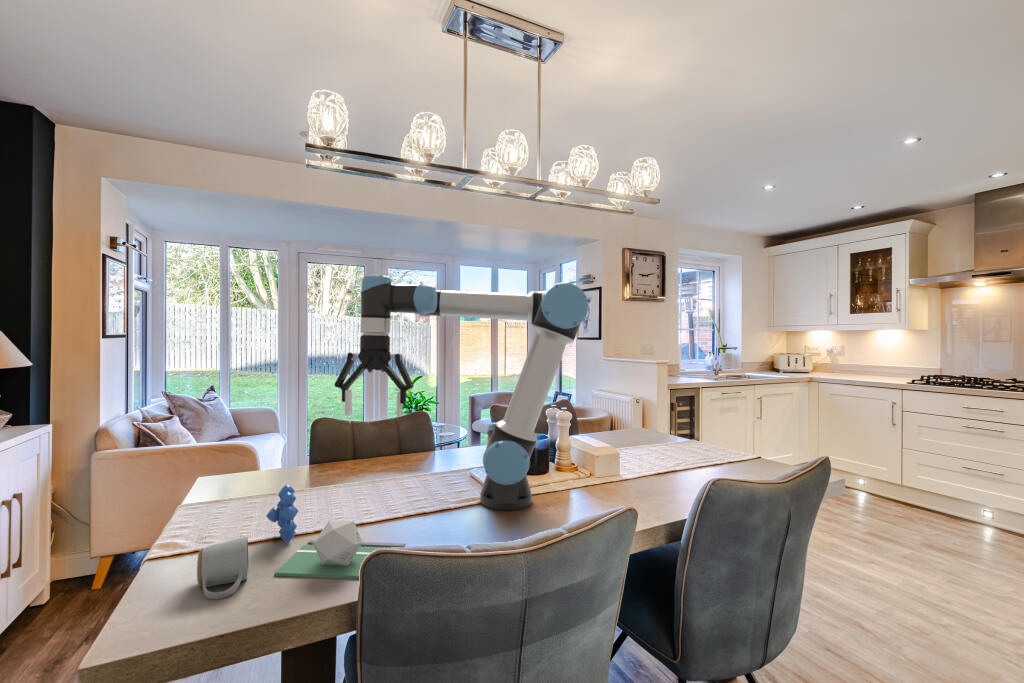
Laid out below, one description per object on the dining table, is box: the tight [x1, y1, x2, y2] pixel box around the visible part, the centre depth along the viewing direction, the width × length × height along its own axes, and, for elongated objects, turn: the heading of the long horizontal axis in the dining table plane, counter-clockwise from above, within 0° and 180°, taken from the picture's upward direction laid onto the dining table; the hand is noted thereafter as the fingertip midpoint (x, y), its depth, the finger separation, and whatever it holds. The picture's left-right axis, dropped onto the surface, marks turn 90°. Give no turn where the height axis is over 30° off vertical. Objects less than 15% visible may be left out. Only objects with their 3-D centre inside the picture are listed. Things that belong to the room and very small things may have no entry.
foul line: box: [307, 539, 406, 548], centre depth 105 cm, size 22×1×1 cm, turn 89°
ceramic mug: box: [196, 536, 250, 600], centre depth 87 cm, size 11×8×8 cm
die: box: [312, 520, 364, 566], centre depth 95 cm, size 8×9×10 cm
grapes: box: [266, 484, 299, 543], centre depth 107 cm, size 12×7×12 cm, turn 31°
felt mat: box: [274, 544, 379, 580], centre depth 96 cm, size 22×12×1 cm, turn 89°
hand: (373, 415), depth 121 cm, fingers open, 13 cm apart
